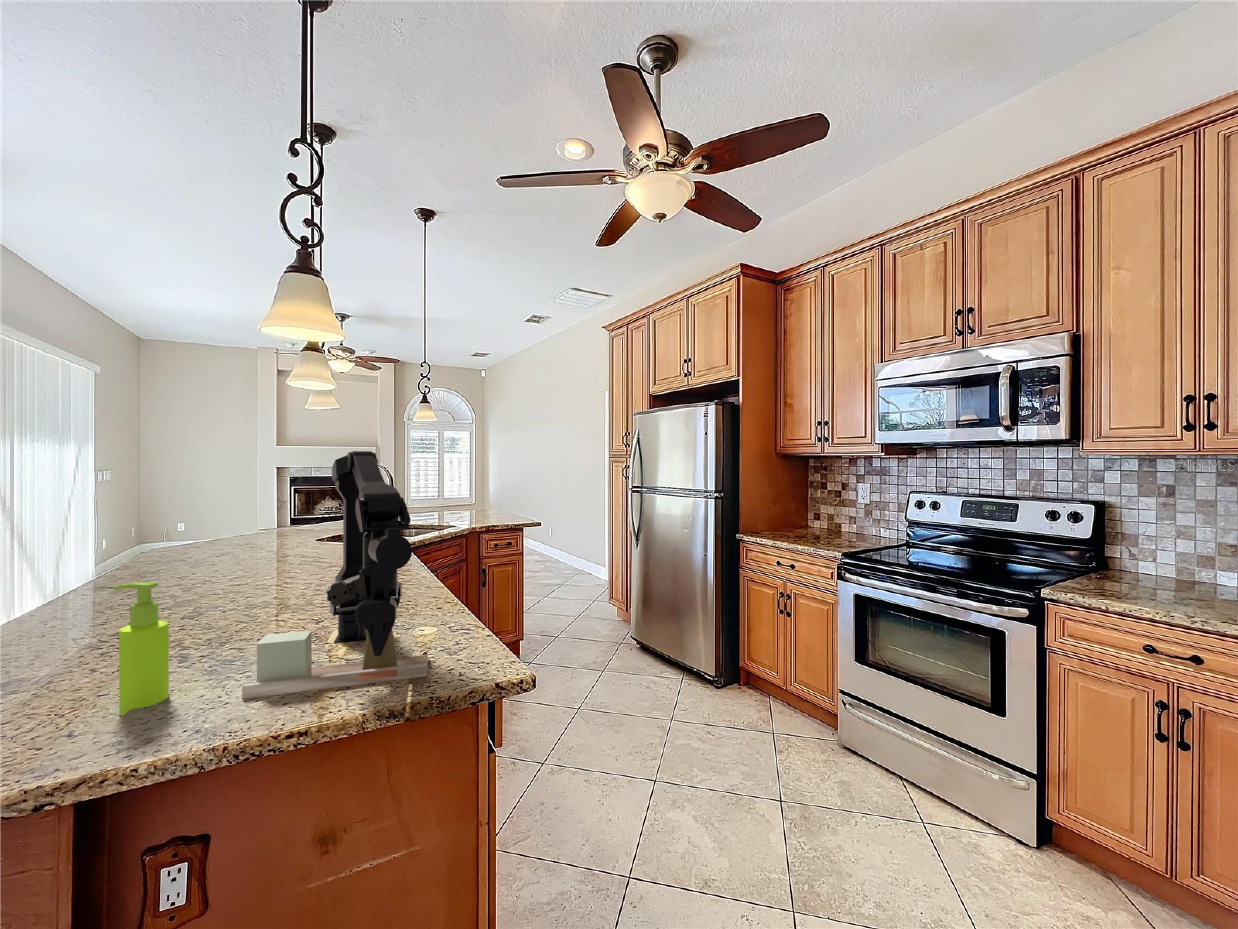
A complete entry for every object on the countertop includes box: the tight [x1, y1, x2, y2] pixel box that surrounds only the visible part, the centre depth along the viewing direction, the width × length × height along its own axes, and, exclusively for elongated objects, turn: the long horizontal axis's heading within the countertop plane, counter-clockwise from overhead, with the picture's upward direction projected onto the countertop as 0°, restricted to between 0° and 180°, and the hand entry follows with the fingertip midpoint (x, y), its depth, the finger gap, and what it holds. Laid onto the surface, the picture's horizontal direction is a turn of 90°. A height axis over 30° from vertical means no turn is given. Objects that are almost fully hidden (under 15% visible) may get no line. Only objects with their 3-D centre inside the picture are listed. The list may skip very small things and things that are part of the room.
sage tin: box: [256, 630, 313, 682], centre depth 91 cm, size 5×7×8 cm
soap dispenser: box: [112, 581, 170, 717], centre depth 85 cm, size 6×7×20 cm
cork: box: [362, 621, 398, 670], centre depth 96 cm, size 6×6×11 cm
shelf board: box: [241, 654, 429, 700], centre depth 95 cm, size 11×28×3 cm, turn 109°
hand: (380, 647), depth 96 cm, fingers open, 9 cm apart
